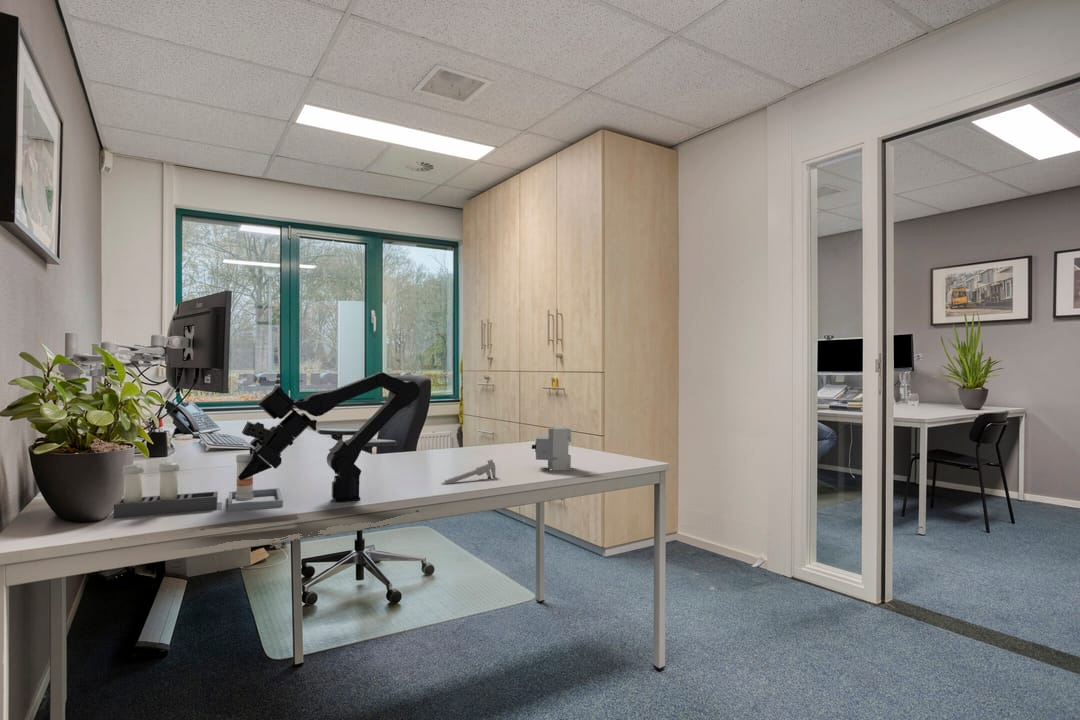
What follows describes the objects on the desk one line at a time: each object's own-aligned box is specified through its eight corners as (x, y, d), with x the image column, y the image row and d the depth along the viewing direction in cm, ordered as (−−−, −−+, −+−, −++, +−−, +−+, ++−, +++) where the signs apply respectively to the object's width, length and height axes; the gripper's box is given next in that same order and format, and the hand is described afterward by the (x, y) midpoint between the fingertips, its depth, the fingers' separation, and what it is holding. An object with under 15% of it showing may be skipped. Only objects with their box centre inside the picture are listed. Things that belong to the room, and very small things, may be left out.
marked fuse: (253, 496, 147) (254, 453, 147) (253, 500, 144) (254, 456, 144) (235, 498, 145) (236, 454, 145) (235, 501, 142) (236, 457, 142)
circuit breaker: (532, 466, 214) (532, 425, 214) (570, 467, 213) (571, 426, 213) (530, 469, 206) (531, 428, 207) (570, 470, 206) (571, 429, 206)
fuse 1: (144, 510, 136) (145, 463, 136) (141, 514, 132) (142, 466, 132) (123, 512, 134) (124, 464, 134) (120, 516, 130) (121, 467, 130)
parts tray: (279, 499, 156) (279, 488, 156) (282, 512, 142) (282, 500, 142) (228, 503, 150) (228, 491, 150) (227, 517, 137) (227, 504, 137)
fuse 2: (179, 507, 139) (180, 462, 139) (177, 511, 135) (178, 464, 135) (159, 509, 137) (160, 463, 137) (157, 513, 134) (158, 465, 134)
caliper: (493, 477, 193) (493, 458, 193) (495, 477, 192) (495, 459, 192) (441, 485, 179) (441, 464, 179) (443, 485, 178) (443, 465, 178)
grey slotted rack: (222, 508, 145) (222, 490, 145) (221, 515, 138) (221, 497, 138) (113, 517, 135) (114, 498, 135) (106, 526, 128) (107, 506, 128)
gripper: (259, 407, 155) (211, 451, 149) (267, 413, 139) (214, 462, 133) (290, 435, 159) (245, 478, 153) (301, 443, 143) (251, 492, 137)
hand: (238, 477), depth 144 cm, fingers closed on marked fuse, 4 cm apart
